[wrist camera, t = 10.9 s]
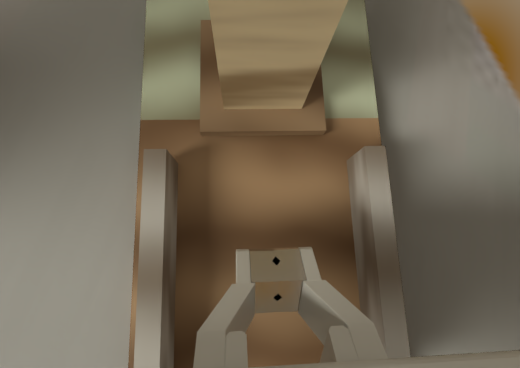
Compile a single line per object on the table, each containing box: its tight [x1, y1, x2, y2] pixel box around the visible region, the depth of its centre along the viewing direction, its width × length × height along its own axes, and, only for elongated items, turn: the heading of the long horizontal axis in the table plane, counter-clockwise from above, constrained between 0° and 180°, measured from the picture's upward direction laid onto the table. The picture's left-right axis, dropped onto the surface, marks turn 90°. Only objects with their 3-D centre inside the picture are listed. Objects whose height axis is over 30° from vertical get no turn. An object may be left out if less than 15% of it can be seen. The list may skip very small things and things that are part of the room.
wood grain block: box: [200, 0, 348, 136], centre depth 16 cm, size 8×8×10 cm
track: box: [128, 0, 411, 368], centre depth 18 cm, size 37×16×5 cm, turn 2°
